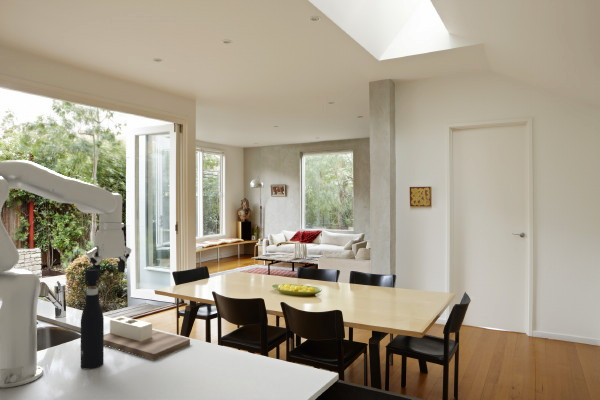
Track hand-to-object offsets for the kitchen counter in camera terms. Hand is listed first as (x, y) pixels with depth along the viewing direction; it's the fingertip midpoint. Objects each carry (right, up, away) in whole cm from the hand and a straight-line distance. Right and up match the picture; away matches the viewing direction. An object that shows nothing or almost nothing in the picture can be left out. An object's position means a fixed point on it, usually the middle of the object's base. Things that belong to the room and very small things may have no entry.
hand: (109, 273), depth 151 cm
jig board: (+13, -25, -3) cm, 28 cm away
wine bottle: (+4, -25, -21) cm, 33 cm away
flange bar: (+8, -23, 0) cm, 24 cm away
